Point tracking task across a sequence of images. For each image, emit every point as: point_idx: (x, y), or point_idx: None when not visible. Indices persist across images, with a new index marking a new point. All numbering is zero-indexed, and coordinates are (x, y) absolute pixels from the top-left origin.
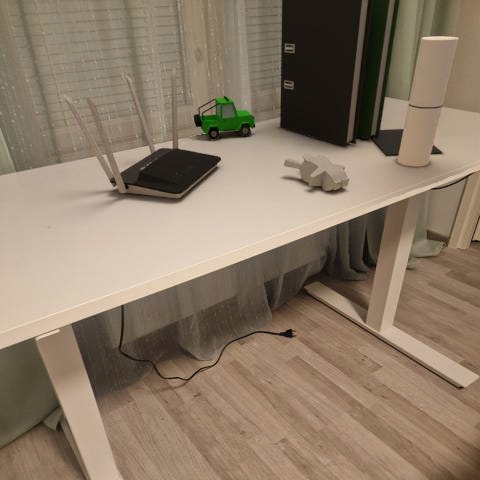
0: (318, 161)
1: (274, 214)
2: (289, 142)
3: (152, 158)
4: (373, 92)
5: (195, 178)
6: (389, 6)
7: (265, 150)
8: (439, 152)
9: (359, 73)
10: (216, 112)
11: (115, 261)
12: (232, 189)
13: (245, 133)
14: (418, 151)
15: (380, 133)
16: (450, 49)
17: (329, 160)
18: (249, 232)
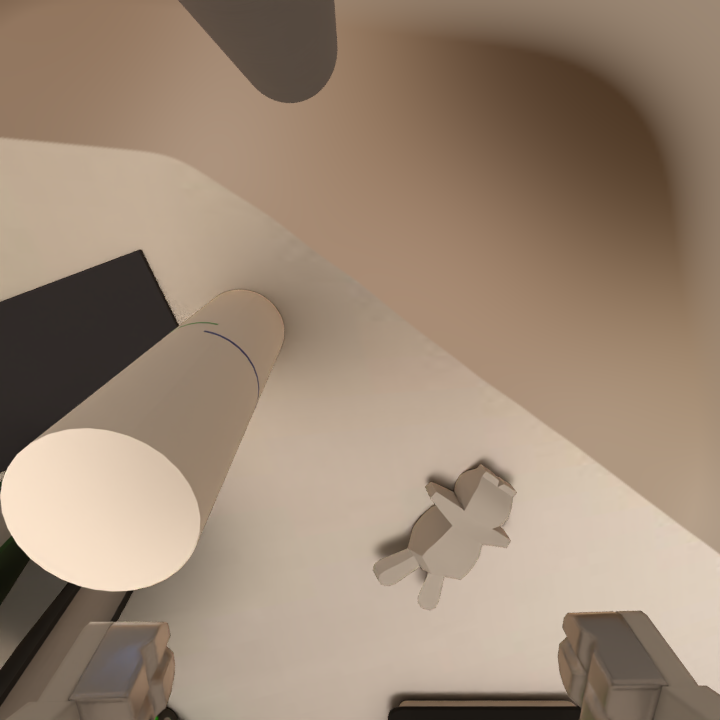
0: (465, 552)
1: (616, 555)
2: (181, 620)
3: None
4: (8, 546)
5: (521, 712)
6: None
7: (261, 650)
8: (144, 258)
9: (40, 647)
10: None
11: None
12: (509, 643)
13: (169, 718)
14: (277, 335)
15: (12, 429)
16: (184, 436)
17: (447, 532)
18: (689, 572)
